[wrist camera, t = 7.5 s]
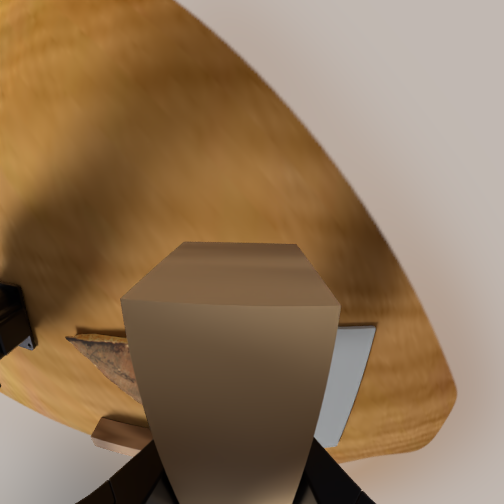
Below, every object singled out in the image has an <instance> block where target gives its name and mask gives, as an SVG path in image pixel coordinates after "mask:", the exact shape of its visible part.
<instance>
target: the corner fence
mask: <svg viewBox="0 0 504 504" xmlns="http://www.w3.org/2000/svg"><path fill="white" fill-rule="evenodd" d="M91 438H92V440H93V442H94V444H95V446H97V447H100V448H104V449H107V450H110V451H115V452H118V453H121V454H125V455H129V456H133V457H134V456H135V455H136V454H137V453H138V452H140V451H141V450H142V449H143V448H144V447H145V446H146V445H147V444H148V443H149V442H150V441H151V440H152V439H153V436H152V433H151V430H150V429H149V428H144V427H139V426H134V425H130V424H125V423H121V422H117V421H113V420H109V419H105V418H102V417H101V419H100V421H99V423H98V424H97V426H96V428H95V430H94V432H93V434H92V435H91Z"/></svg>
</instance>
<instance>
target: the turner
mask: <svg viewBox="0 0 504 504" xmlns="http://www.w3.org/2000/svg"><path fill="white" fill-rule="evenodd" d="M120 300H121V307H122V313H123V319H124V325H125V331H126V336H127V341H128V346H129V351H130V356H131V360H132V365H133V369H134V373H135V378H136V382H137V385H138V389H139V393H140V397H141V400H142V404H143V407H144V411H145V414H146V417H147V421H148V424H149V427H150V430H151V433H152V436H153V439H154V442H155V445H156V448H157V450H158V453H159V456H160V459H161V461H162V464H163V466H164V469H165V471H166V474H167V476H168V479H169V481H170V483H171V486H172V488H173V490H174V493H175V495H176V497H177V499H178V501H179V503H180V504H292V502H293V500H294V497H295V494H296V491H297V488H298V486H299V483H300V480H301V477H302V474H303V471H304V467H305V464H306V461H307V458H308V455H309V451H310V448H311V444H312V441H313V437H314V434H315V430H316V426H317V423H318V419H319V415H320V411H321V407H322V403H323V399H324V394H325V390H326V385H327V381H328V376H329V372H330V367H331V362H332V357H333V351H334V346H335V340H336V335H337V329H338V323H339V316H340V310H341V305H340V303H339V302H338V301H337V299H336V298H335V296H334V295H333V294H332V292H331V291H330V289H329V288H328V287H327V285H326V284H325V282H324V281H323V280H322V278H321V277H320V275H319V274H318V273H317V271H316V270H315V269H314V267H313V266H312V265H311V263H310V262H309V260H308V259H307V258H306V256H305V255H304V254H303V252H302V251H301V250H300V248H299V247H298V246H297V244H268V243H224V242H183V243H182V244H181V245H180V246H178V247H177V248H176V249H175V250H174V251H173V252H172V253H170V254H169V255H168V256H167V257H166V258H165V259H164V260H162V261H161V262H160V263H159V264H158V265H157V266H156V267H154V268H153V269H152V270H151V271H150V272H149V273H148V274H147V275H146V276H144V277H143V278H142V279H141V280H140V281H139V282H138V283H137V284H136V285H135V286H133V287H132V288H131V289H130V290H129V291H128V292H127V293H126V294H125V295H124V296H123V297H122V298H120Z"/></svg>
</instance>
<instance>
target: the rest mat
mask: <svg viewBox="0 0 504 504" xmlns="http://www.w3.org/2000/svg"><path fill="white" fill-rule="evenodd" d="M375 329H376V328H375V326H349V327H338V329H337V335H336V340H335V346H334V351H333V357H332V362H331V367H330V372H329V376H328V381H327V385H326V390H325V394H324V399H323V403H322V407H321V411H320V415H319V419H318V423H317V426H316V430H315V434H314V437H315V438H316V440H317V441H318V442H319V443H320V444H321V445H322V447H323V448H327V447H335V446H337V444H338V442H339V439H340V437H341V434H342V432H343V429H344V427H345V424H346V422H347V419H348V416H349V414H350V411H351V408H352V406H353V403H354V400H355V397H356V394H357V391H358V388H359V385H360V382H361V379H362V376H363V373H364V369H365V366H366V363H367V359H368V356H369V352H370V348H371V345H372V341H373V337H374V333H375Z"/></svg>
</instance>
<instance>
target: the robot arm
mask: <svg viewBox="0 0 504 504" xmlns="http://www.w3.org/2000/svg"><path fill="white" fill-rule="evenodd" d="M17 346H20V347H23V348H26V349H29V350H33V349H34V348H35V343H34V339H33V336H32V332H31V329H30V325H29V321H28V317H27V313H26V309H25V304H24V299H23V294H22V290H21V288H20V286H19V285H16V284H10V283H5V282H1V281H0V359H2V358H3V357H4V356H5V355H8V354H9V353H10V352H11V351H13V350H14V349H15V348H16V347H17ZM0 387H1V384H0ZM75 504H180V503H179V501H178V499H177V497H176V495H175V493H174V490H173V488H172V486H171V483H170V481H169V479H168V476H167V474H166V471H165V469H164V466H163V464H162V461H161V459H160V456H159V453H158V450H157V448H156V445H155V442H154V439H152V440H151V441H150V442H149V443H148V444H147V445H146V446H145V447H144V448H143V449H142V450H141V451H140V452H138V453H137V454H136V455H135V456H134V457H133V458H132V459H131V460H130V461H129V462H128V463H126V464H125V465H124V466H123V467H122V468H121V469H120V470H119V471H117V472H116V473H115V474H114V475H113V476H112V477H111V478H110V479H109V480H107V481H106V482H105V483H104V484H102V485H101V486H100V487H99V488H97V489H96V490H95V491H94V492H92V493H91V494H90V495H88V496H87V497H85V498H84V499H82V500H80V501H79V502H77V503H75ZM292 504H376V503H375V502H374V501H373V500H371V499H370V498H369V497H368V496H367V494H366V493H365V492H363V491H361V488H360V487H359V486H358V485H357V484H356V483H355V482H354V481H353V480H352V479H351V478H350V477H349V476H348V475H347V473H346V472H345V471H344V470H343V469H342V468H341V467H340V466H339V465H338V464H337V462H336V461H335V460H334V459H333V458H332V457H331V456H330V455H329V453H328V452H327V451H326V450H325V449H324V448H323V447H322V445H321V444H320V443H319V442H318V441H317V440H316V438H315V437H313V441H312V444H311V448H310V451H309V455H308V458H307V461H306V464H305V467H304V471H303V474H302V477H301V480H300V483H299V486H298V488H297V491H296V494H295V497H294V500H293V502H292Z"/></svg>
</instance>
